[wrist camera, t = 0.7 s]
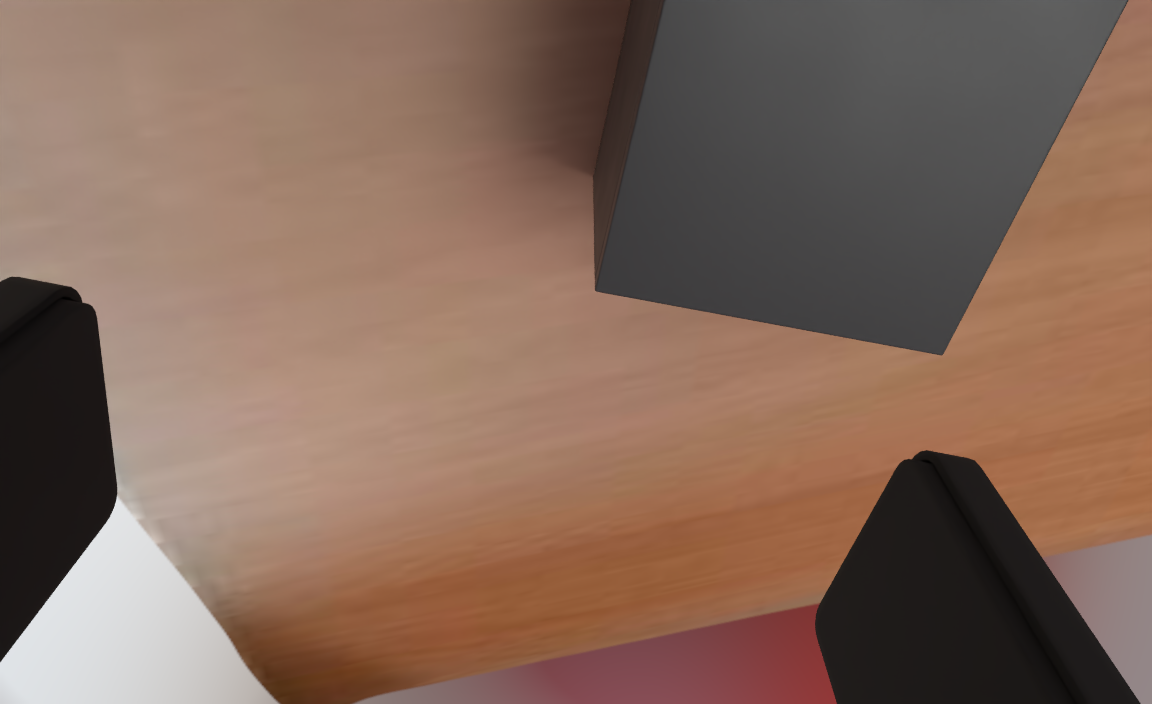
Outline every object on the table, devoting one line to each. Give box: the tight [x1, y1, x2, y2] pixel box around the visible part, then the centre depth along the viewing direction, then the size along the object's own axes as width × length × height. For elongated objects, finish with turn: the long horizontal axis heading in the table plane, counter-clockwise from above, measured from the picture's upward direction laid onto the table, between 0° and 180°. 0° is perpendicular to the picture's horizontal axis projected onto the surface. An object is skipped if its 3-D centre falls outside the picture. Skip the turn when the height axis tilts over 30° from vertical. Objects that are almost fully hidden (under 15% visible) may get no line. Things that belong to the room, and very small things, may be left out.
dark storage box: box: [593, 0, 660, 278], centre depth 27 cm, size 16×12×11 cm
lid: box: [595, 0, 1128, 355], centre depth 20 cm, size 17×12×5 cm
